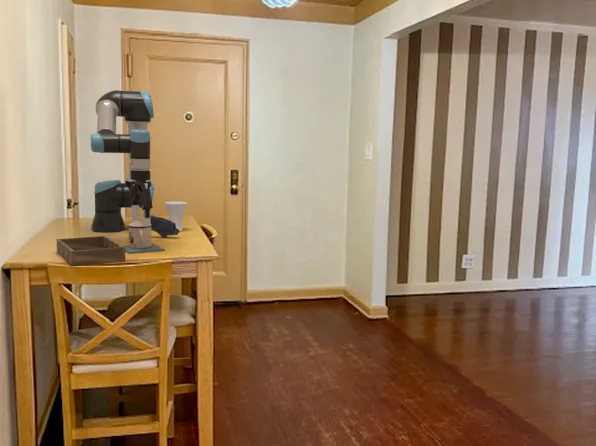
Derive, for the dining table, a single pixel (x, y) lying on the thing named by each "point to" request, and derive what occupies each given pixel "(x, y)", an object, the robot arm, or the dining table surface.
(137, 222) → the teacup with lid
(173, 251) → the dining table surface
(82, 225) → the dining table surface
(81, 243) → the dark brown tray
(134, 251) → the mat
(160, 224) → the stone
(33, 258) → the dining table surface
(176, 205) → the cup
